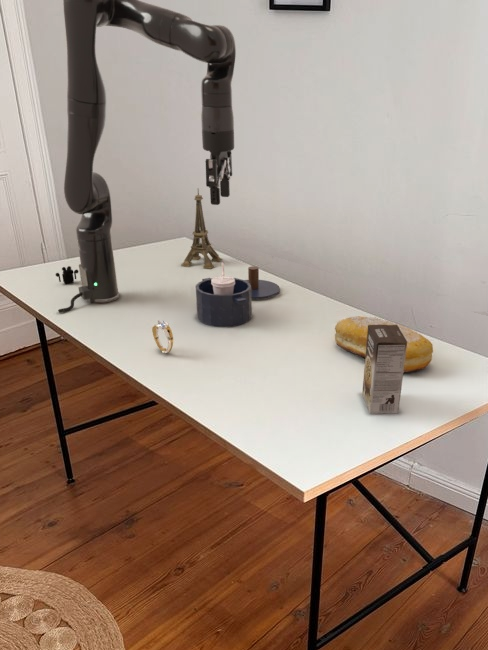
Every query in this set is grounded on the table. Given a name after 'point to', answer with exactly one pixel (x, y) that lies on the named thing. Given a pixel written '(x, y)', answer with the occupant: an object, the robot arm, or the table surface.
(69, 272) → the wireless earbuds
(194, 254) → the eiffel tower
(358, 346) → the bread
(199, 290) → the pot
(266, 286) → the lid
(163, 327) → the ring
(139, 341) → the table surface
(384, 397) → the coffee box
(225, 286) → the smoothie
